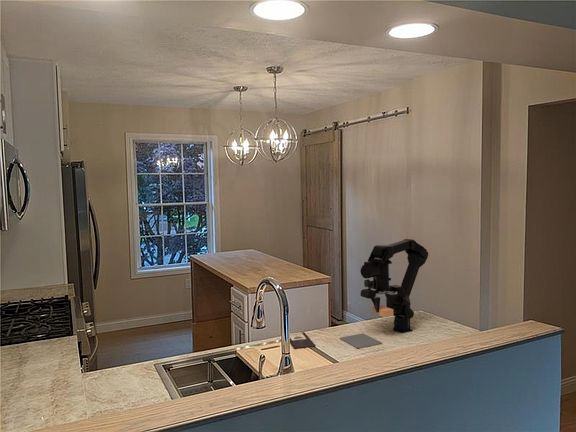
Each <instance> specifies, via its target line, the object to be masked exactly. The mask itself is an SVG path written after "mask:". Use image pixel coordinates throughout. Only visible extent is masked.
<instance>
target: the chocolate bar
mask: <svg viewBox="0 0 576 432" xmlns="http://www.w3.org/2000/svg"><path fill="white" fill-rule="evenodd" d="M289 334H290V343H289V344H290V346H291V347H292V348H293V350H297V349H298V350H300V349H310V348H316V344H315V343H314V342H313V341H312V340H311V338H310V337H309V336H308V335H307V334H306V333H305V331H302V332H294V333H293V332H292V333H291V332H290V333H289Z"/></svg>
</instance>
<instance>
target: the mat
mask: <svg viewBox="0 0 576 432" xmlns="http://www.w3.org/2000/svg"><path fill="white" fill-rule="evenodd" d="M338 339H340V340H341V341H343V342H345V343H346V344H348V345H350V346H351V347H354V348H355V349H356V350H358V349H364V348H369V347H374V346H378V344H379V345H382V343H383V342H382V341H380V340H378V339H376V338H373V337H372V336H369V335H368V334H366V333H364V332H363V333H358V334H352V335H346V336H342V337H339V338H338ZM373 345H374V346H373Z"/></svg>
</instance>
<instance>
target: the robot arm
mask: <svg viewBox="0 0 576 432" xmlns="http://www.w3.org/2000/svg"><path fill="white" fill-rule="evenodd" d="M402 252H404V253H406V254H407V256H406V258H407V262H408V264H407V268H406V270H405V273H404V274H403V278H402V282H401V285H398V284H392V285H390V281H392V278H391V277H390V265H392V264H393V261H391V260H390V259H391V258H393V257H394V256H395V255H396V254H398V253H402ZM428 258H429V251H428V250H427V248H425V247H424V246H423V245H421V244H419V243H418V242H417V241H416V240H415V239H412V238H411V239H410V238H405V239H402V240H400V241H397V242H394V243H391V244H376V245H375V246H373V249H372V251H371V253H370V254H369V257H368V259H367V261H363V265H362V266H361V268H360V276H362V278H363V279H365V280H364V282H363V283H364V284H363V285H364V288H363V289H361V290H360V297H363V298H365V299H369V300H371V302H372V303H373V307H375V309H376V312H377V313H378V312H379V307H380V306H381V297H379V295H382V294H384V296H385V298H386V299H385V302H386V303H385V304H386V305H385V307H388V308H391V309H393V314H394V315H393V316H394V320H393V327H392V330H393V331H395V332H398V333H407V332H414V331H413V328H411V319H413V318H414V317H415V315H414V314H415V312H414V310H412V309H411V299H410V295H411V294H412V293H411V292H412V290H413V287H414V284H415V282H416V278H417V275H418V273H419V270H420V268H421V267H422V266H423V265H425V264H426V262H427V259H428ZM371 278H372V280H370V279H371ZM393 316H392V317H393Z"/></svg>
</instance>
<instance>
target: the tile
mask: <svg viewBox="0 0 576 432" xmlns="http://www.w3.org/2000/svg"><path fill="white" fill-rule="evenodd" d="M371 308H372V312H371V313H373V314H375V315H378V316H380V317H383V318H386V317H393V315H394V314H393V309H391V308H388V307H386V305H381V304H380V307H379V312H378V313H377V312H376V309H375V307H374V306H372V307H371Z"/></svg>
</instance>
